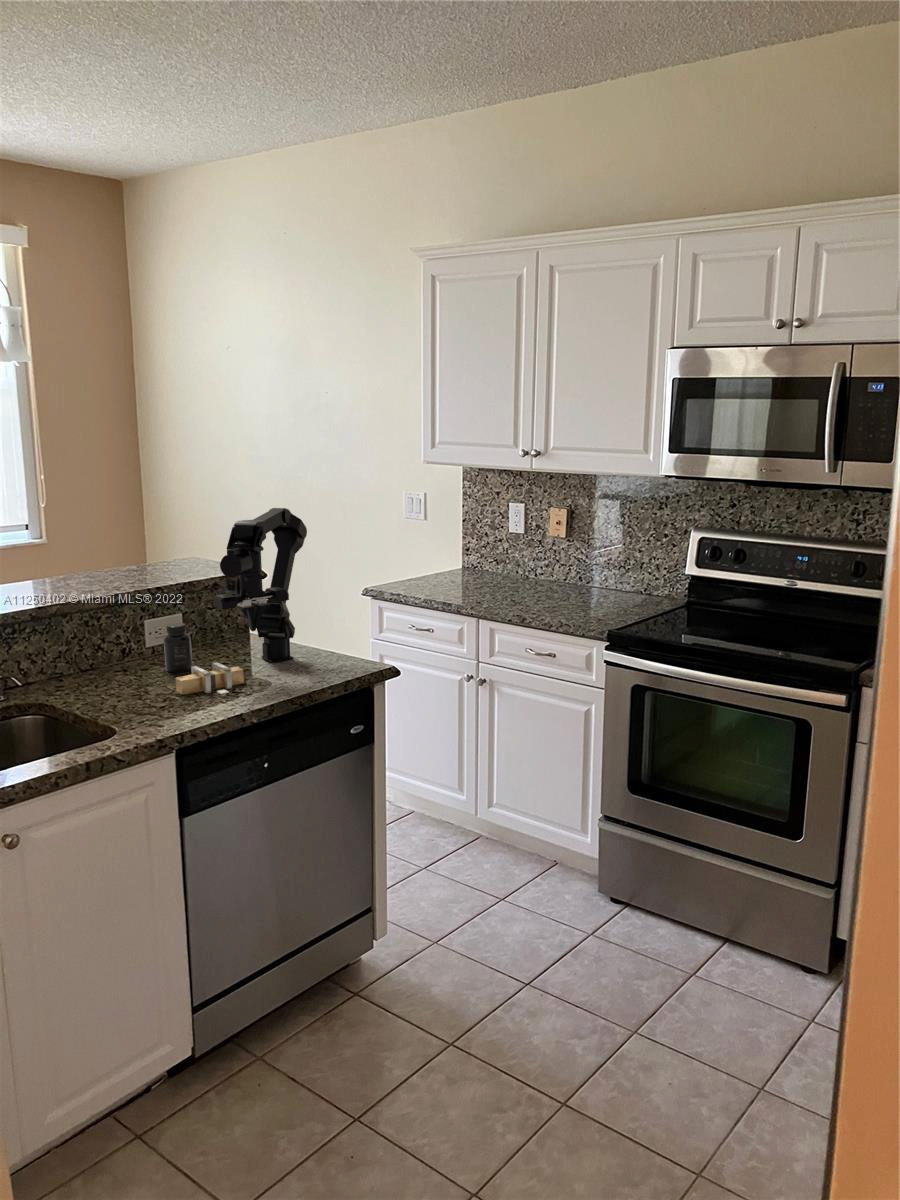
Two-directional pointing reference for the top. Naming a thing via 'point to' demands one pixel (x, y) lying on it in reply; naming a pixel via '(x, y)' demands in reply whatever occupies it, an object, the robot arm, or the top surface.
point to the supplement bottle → (177, 648)
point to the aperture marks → (222, 691)
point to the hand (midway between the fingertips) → (253, 630)
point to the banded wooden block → (216, 678)
